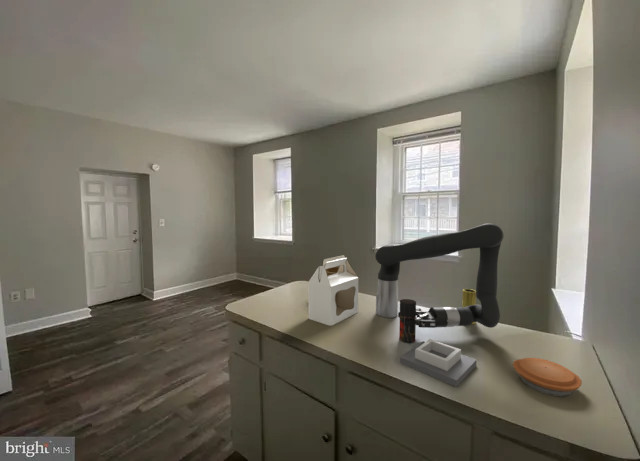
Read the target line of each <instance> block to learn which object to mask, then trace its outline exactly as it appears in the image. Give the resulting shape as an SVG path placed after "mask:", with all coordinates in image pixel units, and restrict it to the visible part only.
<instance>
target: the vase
mask: <svg viewBox="0 0 640 461" xmlns="http://www.w3.org/2000/svg"><path fill="white" fill-rule="evenodd" d="M461 299H462V300H461V307H467V306H471V305H477V297H476V289H472V288H463V289H462V298H461ZM476 323H477V322H473V323H472V324H471V325H475V324H476Z"/></svg>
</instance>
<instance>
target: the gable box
mask: <svg viewBox="0 0 640 461" xmlns="http://www.w3.org/2000/svg"><path fill="white" fill-rule="evenodd" d="M347 259H348V257H345V255H343V254H342V255H337V256H332V257H327V258H324V259H322V263H321V265H320V266H318V267H317V268H316V269H315V272H314V273H313V275H312V276H311V278H309V280H308V282H307V285H308V287H307V288H308V295H307V297H308V320H311V321H314V322H317V323H320V324H323V325H327V326H329V327H332V326H334V325H335V324H338V323H340V322H342V321H344V320H346V319H348V318H350V317H351V316H353V315H356V314H357V313H359V276H358V275H357V273H356V271H355V270H354V269H353V267H352V266H351V264H350V262H349V261H348V260H347ZM332 267H339V270H338V272H337V273H336V274H333V275H329V276H327V272H326V269H328V268H332Z"/></svg>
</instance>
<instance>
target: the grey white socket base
mask: <svg viewBox="0 0 640 461" xmlns="http://www.w3.org/2000/svg"><path fill="white" fill-rule="evenodd" d="M477 362H478V361H477V359H476V358H473V357H470V356H467V355H464V354H462V349H461V348H458V347H455V346H452V345H449V344H446V343H442V342H439V341H437V340H434V339H431V338H430V339H428V340H427V341H421V342H420V343H418V344H417V345H415V346H414V347H413V348H411V349H409V350H408V351H406V352H405V353H404V354H402V355H400V356H399V363H400V364H402V365H404V366H407V367H409V368H411V369H413V370H416V371H418V372H420V373H423V374H426V375H428V376H430V377H433V378H434V379H437V380H438V381H439V380H440V381H441V382H444V383H446V384H448V385H450V386H453V387H455V388H458V386H459V385H460V384H461V383H462V382H463V381H464V380H465V379H466V378H467V377H468V375H470V373H471V372H472V371H473V370H474V369H475V368H476V367H477Z"/></svg>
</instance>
